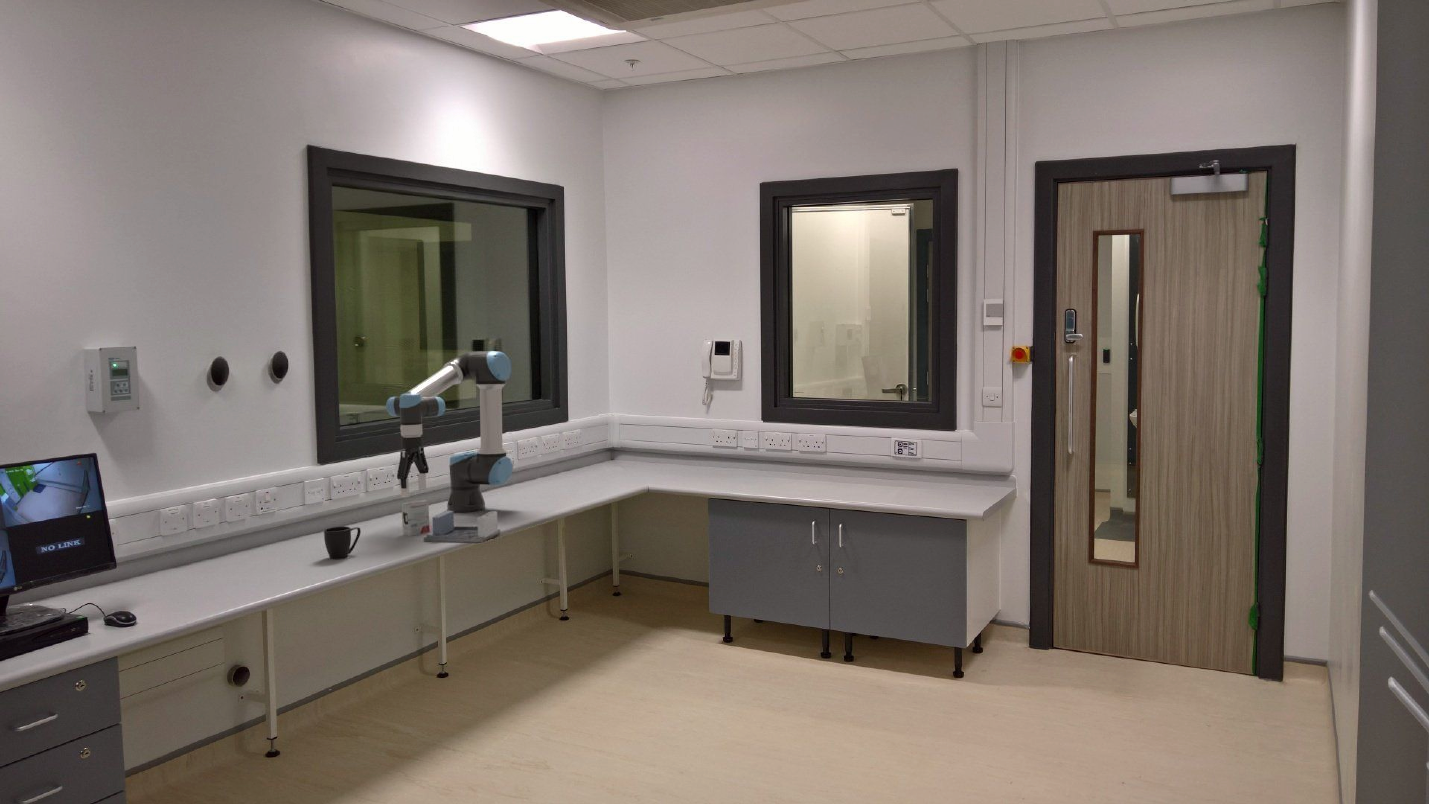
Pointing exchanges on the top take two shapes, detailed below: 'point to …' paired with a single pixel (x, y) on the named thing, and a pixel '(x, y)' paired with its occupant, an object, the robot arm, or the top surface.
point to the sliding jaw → (443, 523)
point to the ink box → (415, 517)
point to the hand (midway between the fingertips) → (414, 494)
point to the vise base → (470, 531)
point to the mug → (339, 541)
